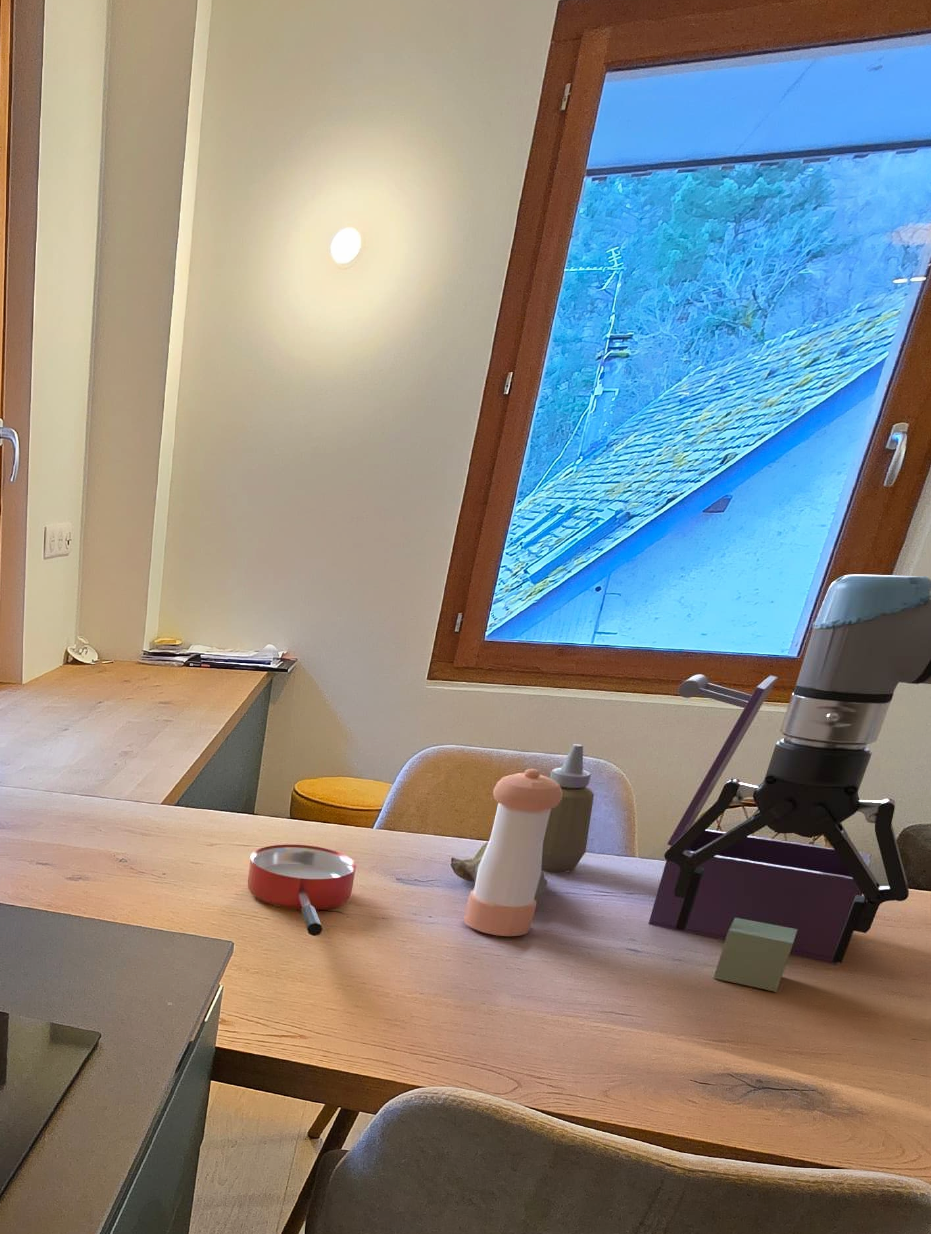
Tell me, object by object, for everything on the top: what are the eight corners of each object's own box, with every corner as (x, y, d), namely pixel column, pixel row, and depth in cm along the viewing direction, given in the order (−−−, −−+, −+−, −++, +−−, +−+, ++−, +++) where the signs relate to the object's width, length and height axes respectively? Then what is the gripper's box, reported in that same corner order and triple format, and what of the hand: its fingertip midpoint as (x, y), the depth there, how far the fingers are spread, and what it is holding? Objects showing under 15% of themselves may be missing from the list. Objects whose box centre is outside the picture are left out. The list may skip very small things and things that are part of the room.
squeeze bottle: (581, 868, 148) (614, 742, 140) (576, 886, 142) (611, 755, 134) (517, 858, 152) (547, 735, 144) (510, 875, 146) (540, 747, 138)
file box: (842, 934, 125) (872, 853, 121) (835, 967, 115) (866, 881, 112) (666, 901, 136) (688, 826, 132) (646, 929, 126) (669, 849, 122)
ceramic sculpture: (483, 846, 128) (454, 816, 142) (468, 912, 131) (442, 878, 145) (578, 851, 126) (539, 821, 139) (561, 919, 129) (525, 883, 143)
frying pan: (393, 981, 114) (404, 927, 111) (270, 974, 116) (277, 921, 113) (340, 876, 142) (348, 832, 139) (242, 872, 144) (247, 828, 141)
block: (781, 976, 113) (797, 929, 111) (776, 992, 109) (793, 943, 107) (720, 963, 116) (735, 917, 114) (713, 978, 112) (728, 930, 110)
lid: (777, 677, 122) (704, 657, 126) (764, 689, 113) (685, 667, 117) (693, 824, 132) (627, 801, 136) (674, 847, 122) (603, 821, 126)
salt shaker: (505, 941, 123) (543, 781, 114) (450, 920, 128) (483, 767, 120) (543, 928, 126) (583, 772, 117) (488, 908, 131) (522, 758, 123)
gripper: (670, 730, 108) (615, 922, 116) (999, 766, 93) (909, 984, 101) (682, 721, 113) (629, 906, 121) (995, 754, 98) (910, 963, 106)
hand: (756, 942), depth 111 cm, fingers open, 13 cm apart
